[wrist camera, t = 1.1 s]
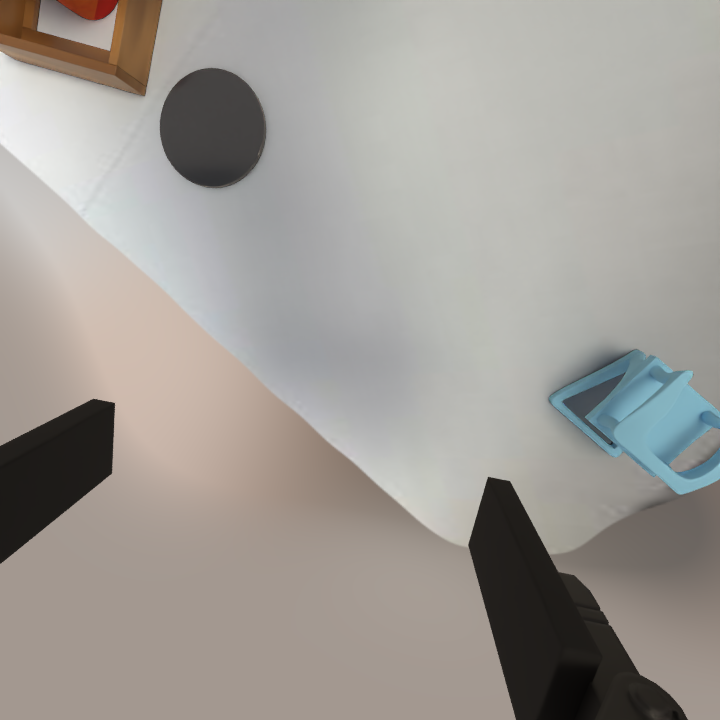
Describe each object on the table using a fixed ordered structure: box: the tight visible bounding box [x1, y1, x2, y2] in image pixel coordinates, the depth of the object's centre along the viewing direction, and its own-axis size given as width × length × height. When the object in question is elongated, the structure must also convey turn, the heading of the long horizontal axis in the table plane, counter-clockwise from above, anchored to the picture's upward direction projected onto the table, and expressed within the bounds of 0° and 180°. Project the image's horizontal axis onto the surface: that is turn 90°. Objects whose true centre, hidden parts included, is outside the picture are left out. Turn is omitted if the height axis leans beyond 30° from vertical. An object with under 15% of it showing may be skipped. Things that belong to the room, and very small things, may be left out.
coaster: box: [160, 68, 266, 188], centre depth 40 cm, size 10×10×1 cm
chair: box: [549, 350, 720, 494], centre depth 33 cm, size 8×8×12 cm
